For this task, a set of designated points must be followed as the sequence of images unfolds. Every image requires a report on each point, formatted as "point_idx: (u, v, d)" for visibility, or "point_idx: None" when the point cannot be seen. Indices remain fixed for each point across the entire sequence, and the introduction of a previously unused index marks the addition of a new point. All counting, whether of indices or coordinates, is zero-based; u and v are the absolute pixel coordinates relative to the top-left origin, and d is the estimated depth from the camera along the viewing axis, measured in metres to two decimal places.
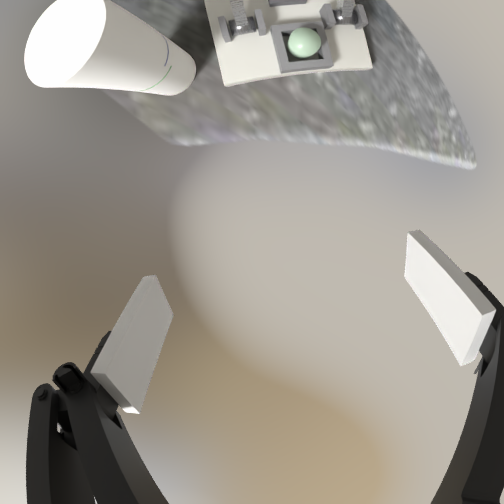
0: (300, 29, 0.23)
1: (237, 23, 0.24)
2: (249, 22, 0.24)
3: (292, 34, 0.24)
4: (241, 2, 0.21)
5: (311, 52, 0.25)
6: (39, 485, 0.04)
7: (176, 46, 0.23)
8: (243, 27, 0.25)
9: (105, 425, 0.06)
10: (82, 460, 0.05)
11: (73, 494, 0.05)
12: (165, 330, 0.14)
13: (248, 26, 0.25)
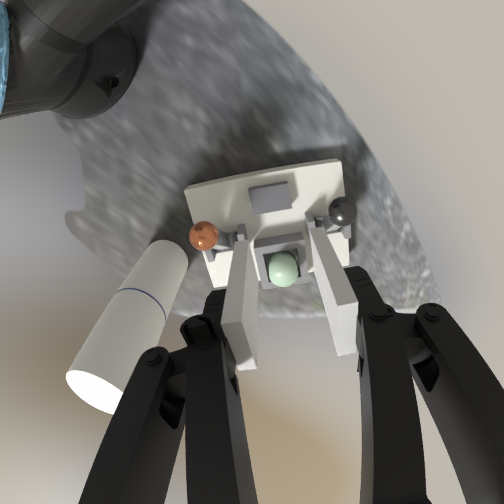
0: (280, 264, 0.34)
1: (221, 249, 0.35)
2: (232, 245, 0.35)
3: (272, 269, 0.34)
4: (222, 246, 0.31)
5: (288, 284, 0.35)
6: (113, 464, 0.05)
7: (168, 283, 0.34)
8: (227, 250, 0.35)
9: (227, 392, 0.07)
10: (187, 425, 0.06)
11: (150, 478, 0.06)
12: (257, 293, 0.15)
13: (232, 249, 0.35)
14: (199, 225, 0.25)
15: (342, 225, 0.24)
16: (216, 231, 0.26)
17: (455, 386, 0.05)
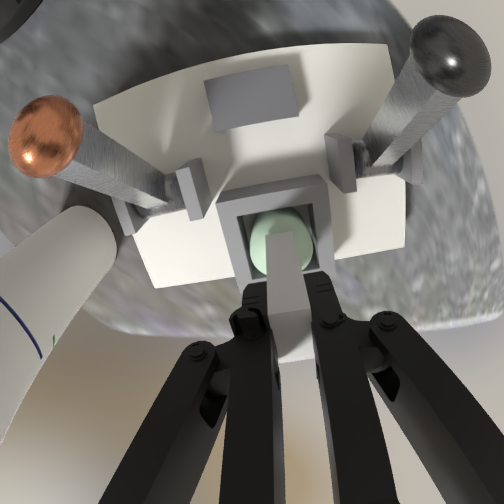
0: (273, 227, 0.15)
1: (147, 207, 0.15)
2: (170, 198, 0.15)
3: (256, 240, 0.16)
4: (131, 189, 0.12)
5: None
6: (144, 464, 0.05)
7: (53, 277, 0.14)
8: (161, 209, 0.16)
9: (273, 388, 0.07)
10: (228, 419, 0.06)
11: (180, 479, 0.06)
12: None
13: (171, 206, 0.16)
14: (28, 103, 0.06)
15: (466, 81, 0.05)
16: (66, 112, 0.06)
17: (418, 397, 0.06)
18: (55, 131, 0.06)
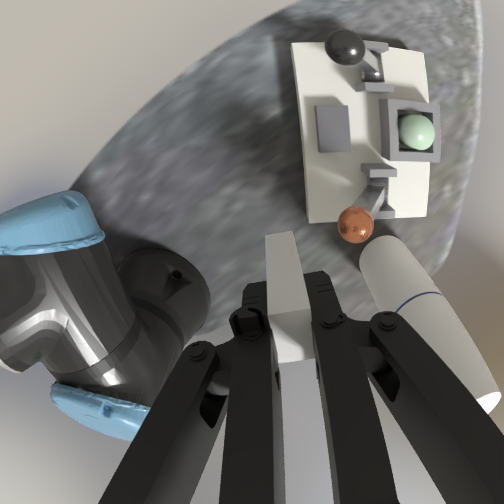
0: (407, 133, 0.22)
1: (383, 198, 0.26)
2: (382, 184, 0.25)
3: (412, 144, 0.22)
4: (378, 199, 0.23)
5: (433, 130, 0.21)
6: (143, 464, 0.05)
7: (403, 271, 0.26)
8: (386, 191, 0.26)
9: (273, 388, 0.07)
10: (228, 419, 0.06)
11: (180, 479, 0.06)
12: None
13: (386, 185, 0.26)
14: (340, 228, 0.20)
15: (363, 50, 0.13)
16: (353, 208, 0.19)
17: (418, 397, 0.06)
18: (361, 213, 0.19)
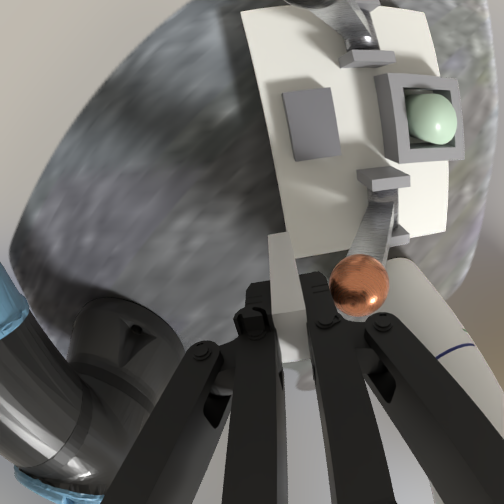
0: (421, 122, 0.14)
1: (393, 219, 0.18)
2: (390, 198, 0.18)
3: (429, 137, 0.15)
4: (390, 227, 0.15)
5: (454, 115, 0.14)
6: (146, 464, 0.05)
7: (422, 314, 0.18)
8: (396, 208, 0.18)
9: (277, 388, 0.07)
10: (231, 419, 0.06)
11: (183, 479, 0.06)
12: None
13: (395, 199, 0.18)
14: (334, 297, 0.11)
15: None
16: (354, 263, 0.11)
17: (414, 398, 0.06)
18: (369, 271, 0.11)
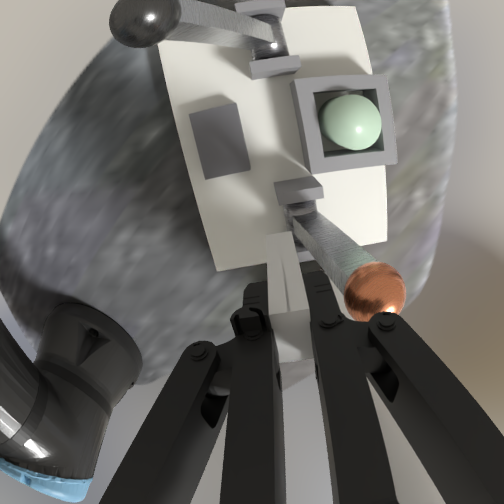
0: (333, 128, 0.15)
1: None
2: (313, 208, 0.19)
3: (344, 143, 0.16)
4: None
5: (378, 115, 0.15)
6: (144, 464, 0.05)
7: None
8: None
9: (274, 388, 0.07)
10: (229, 419, 0.06)
11: (181, 479, 0.06)
12: None
13: (316, 208, 0.19)
14: (370, 316, 0.10)
15: (161, 6, 0.06)
16: (377, 273, 0.10)
17: (417, 397, 0.06)
18: (393, 274, 0.10)
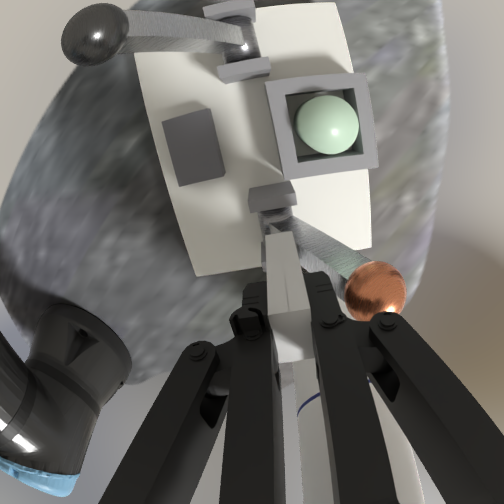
0: (305, 131, 0.15)
1: None
2: (289, 213, 0.19)
3: (317, 147, 0.15)
4: None
5: (354, 116, 0.14)
6: (144, 464, 0.05)
7: None
8: None
9: (273, 388, 0.07)
10: (228, 419, 0.06)
11: (180, 479, 0.06)
12: None
13: (292, 213, 0.19)
14: None
15: (104, 25, 0.06)
16: (379, 272, 0.10)
17: (417, 397, 0.06)
18: (394, 272, 0.10)
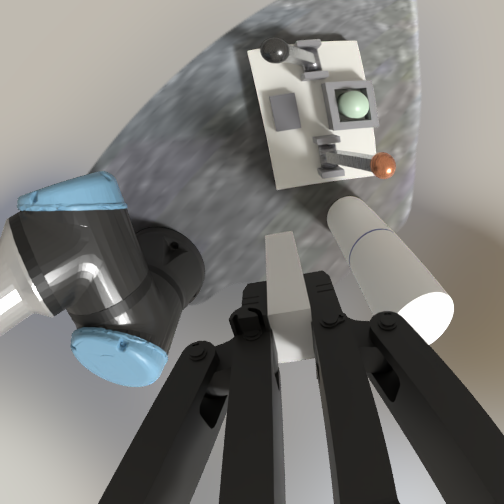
0: (344, 107, 0.29)
1: None
2: (335, 148, 0.33)
3: (350, 114, 0.30)
4: None
5: (367, 101, 0.29)
6: (143, 464, 0.05)
7: (358, 218, 0.33)
8: None
9: (273, 388, 0.07)
10: (228, 419, 0.06)
11: (180, 479, 0.06)
12: None
13: (336, 149, 0.33)
14: (384, 168, 0.24)
15: (286, 50, 0.20)
16: (383, 153, 0.25)
17: (418, 397, 0.06)
18: None
